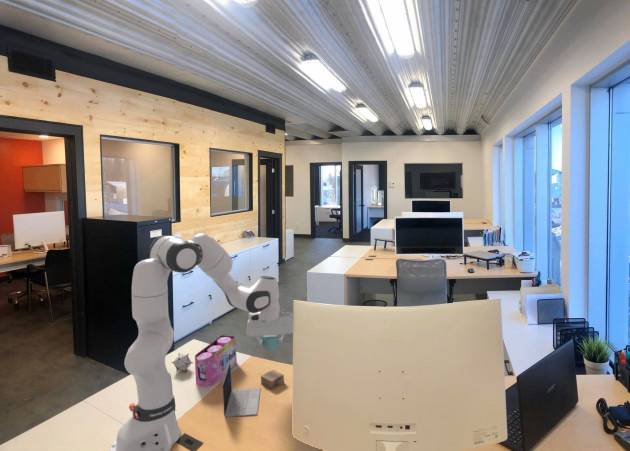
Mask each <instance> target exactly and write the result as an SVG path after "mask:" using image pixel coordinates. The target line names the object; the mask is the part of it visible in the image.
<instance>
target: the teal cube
mask: <svg viewBox="0 0 630 451" xmlns="http://www.w3.org/2000/svg"><path fill="white" fill-rule="evenodd" d="M279 339H280V338H279V336H278V335H264V336H262V340H263V345H262V348H263V349H265V350H266V351H267V352H272V351H274V350H276V349H277V350H278V349H279V348H280V344H279Z"/></svg>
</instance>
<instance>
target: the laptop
mask: <svg viewBox="0 0 630 451" xmlns="http://www.w3.org/2000/svg"><path fill="white" fill-rule="evenodd" d="M231 369H232V368H231ZM231 369H230V363H229V366H228V369H227V373H225V377H224V379H223V383H222V386H221V389H222V390H221V391H222V406H223V416H224V418H231V417H232V418H236V417H246V416H247V417H248V416H256V415H258V412H259V404H260V398H261V397H260V396H261V388H260V387H258V388H256V387H255V388H254V387H253V388H244V389H243V388H242V389H241V388H240V389H233V388H232V387H233V386H232V371H231Z"/></svg>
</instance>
